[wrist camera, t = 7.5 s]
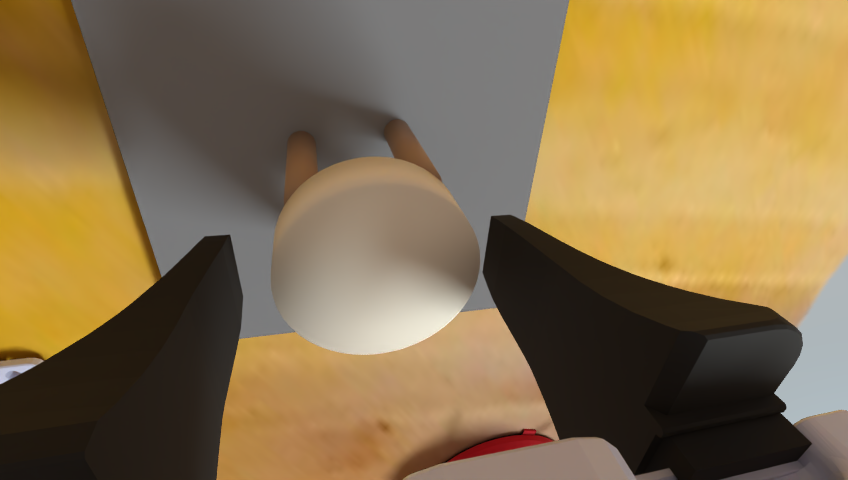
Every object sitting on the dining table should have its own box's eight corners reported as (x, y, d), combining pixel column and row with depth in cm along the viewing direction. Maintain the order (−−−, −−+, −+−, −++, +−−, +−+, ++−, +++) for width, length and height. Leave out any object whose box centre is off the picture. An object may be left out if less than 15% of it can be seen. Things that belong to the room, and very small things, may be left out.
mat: (187, 334, 18) (183, 345, 18) (69, -35, 11) (59, -35, 11) (502, 298, 21) (507, 306, 21) (561, -10, 14) (570, -9, 14)
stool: (296, 253, 17) (295, 371, 12) (262, 117, 14) (243, 203, 9) (430, 231, 18) (477, 333, 13) (424, 99, 15) (483, 168, 10)
